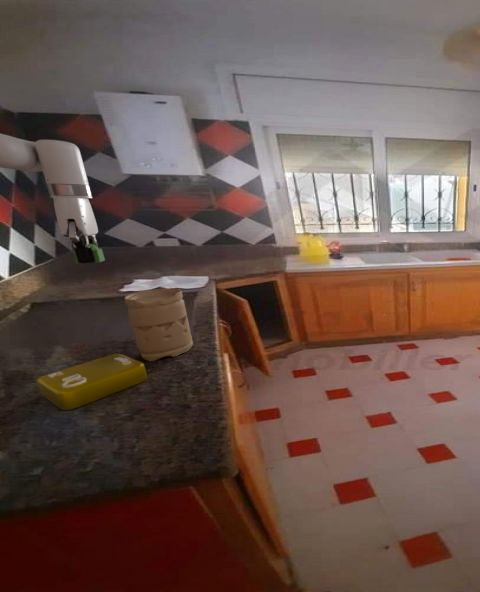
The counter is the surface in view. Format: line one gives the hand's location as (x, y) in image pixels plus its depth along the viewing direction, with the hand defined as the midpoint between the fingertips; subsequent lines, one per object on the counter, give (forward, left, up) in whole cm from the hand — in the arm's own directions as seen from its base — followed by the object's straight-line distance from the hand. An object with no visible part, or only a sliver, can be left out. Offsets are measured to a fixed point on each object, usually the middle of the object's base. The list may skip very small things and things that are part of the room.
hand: (90, 260), depth 87 cm
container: (+14, -9, -27) cm, 32 cm away
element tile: (+3, -25, -27) cm, 37 cm away
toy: (0, 0, 0) cm, 0 cm away
